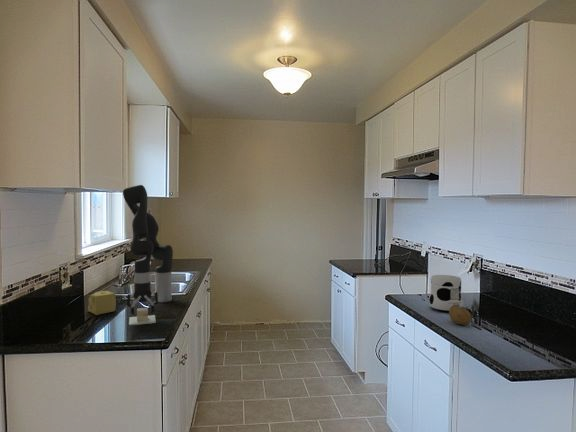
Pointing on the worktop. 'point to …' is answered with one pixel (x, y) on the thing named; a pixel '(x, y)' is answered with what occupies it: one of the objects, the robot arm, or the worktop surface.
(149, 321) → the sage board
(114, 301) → the cheese
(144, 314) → the oak block
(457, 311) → the potato
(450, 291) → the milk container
